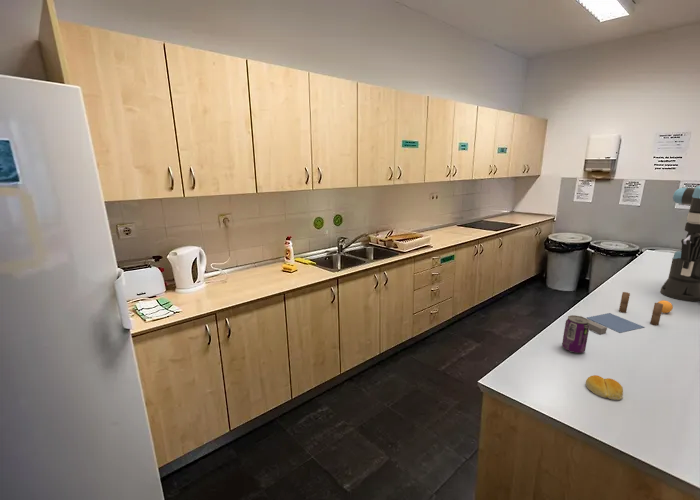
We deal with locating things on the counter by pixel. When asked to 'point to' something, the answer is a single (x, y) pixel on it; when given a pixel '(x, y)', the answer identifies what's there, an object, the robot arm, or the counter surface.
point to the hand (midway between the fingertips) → (685, 275)
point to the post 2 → (656, 314)
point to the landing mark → (615, 322)
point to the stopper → (597, 327)
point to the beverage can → (575, 334)
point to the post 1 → (624, 302)
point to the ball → (666, 306)
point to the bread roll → (605, 387)
